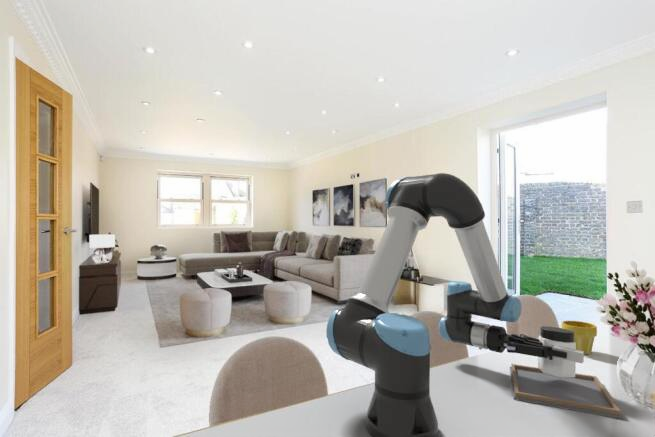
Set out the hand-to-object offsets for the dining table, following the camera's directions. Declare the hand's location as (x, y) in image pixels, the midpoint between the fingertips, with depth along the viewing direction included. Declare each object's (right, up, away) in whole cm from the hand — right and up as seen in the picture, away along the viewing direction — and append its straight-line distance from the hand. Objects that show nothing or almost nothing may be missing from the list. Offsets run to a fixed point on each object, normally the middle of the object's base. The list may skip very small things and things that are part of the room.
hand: (582, 357), depth 94 cm
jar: (-2, -7, +7) cm, 10 cm away
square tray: (-4, -10, +4) cm, 12 cm away
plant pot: (+23, -12, +35) cm, 44 cm away
